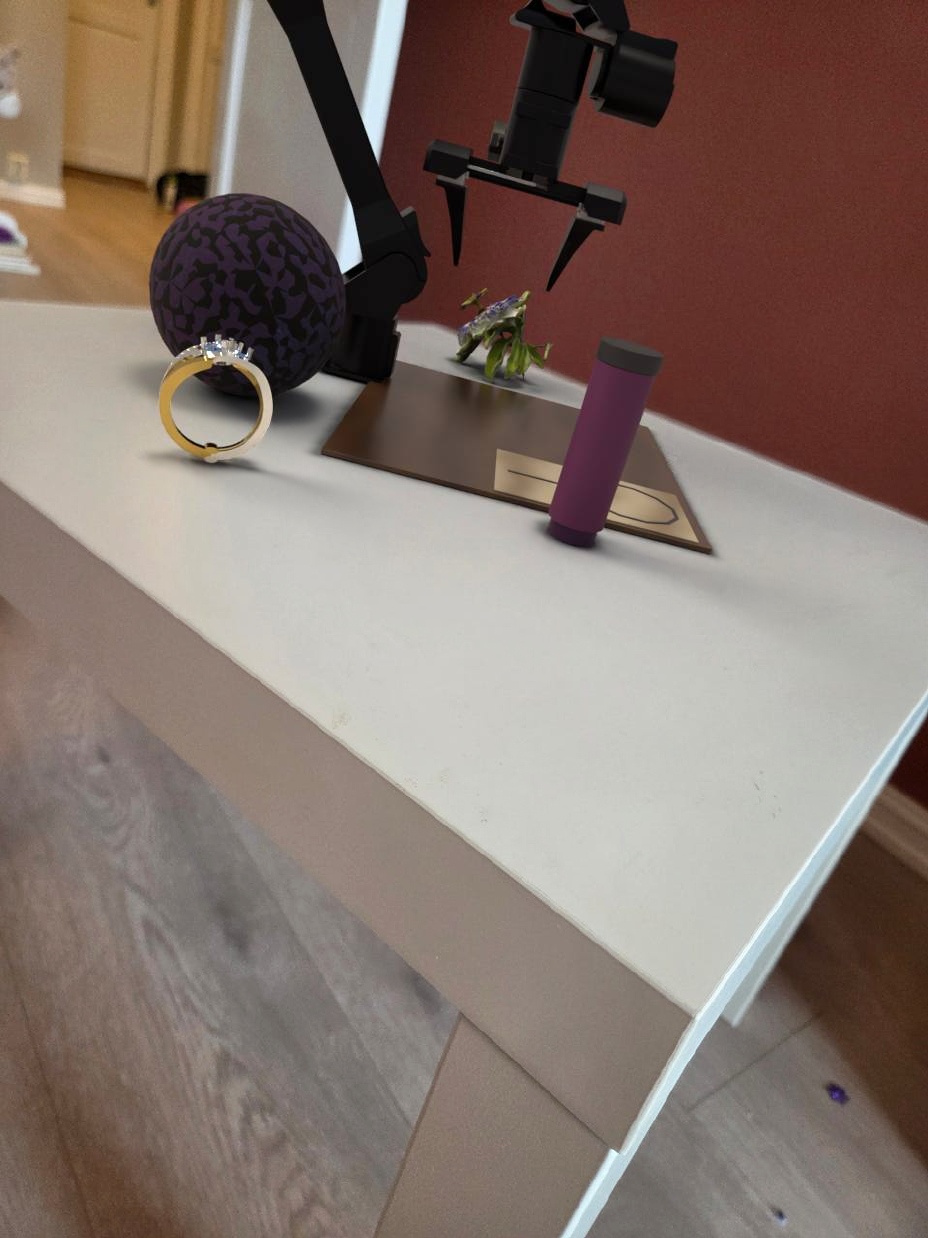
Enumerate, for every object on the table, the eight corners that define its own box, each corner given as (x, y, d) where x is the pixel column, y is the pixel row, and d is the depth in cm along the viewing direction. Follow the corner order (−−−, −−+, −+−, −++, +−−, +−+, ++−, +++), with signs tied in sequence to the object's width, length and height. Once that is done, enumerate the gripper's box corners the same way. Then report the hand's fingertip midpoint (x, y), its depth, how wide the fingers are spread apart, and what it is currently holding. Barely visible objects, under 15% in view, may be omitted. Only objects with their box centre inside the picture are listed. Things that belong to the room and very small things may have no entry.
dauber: (542, 539, 60) (604, 343, 54) (541, 518, 64) (598, 332, 58) (601, 554, 61) (669, 361, 55) (596, 532, 64) (659, 349, 58)
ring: (261, 458, 60) (278, 342, 57) (266, 476, 58) (284, 354, 54) (153, 444, 58) (164, 321, 54) (153, 461, 55) (165, 333, 52)
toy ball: (182, 351, 79) (200, 169, 73) (344, 395, 80) (377, 219, 73) (108, 386, 66) (122, 167, 59) (303, 439, 66) (339, 227, 60)
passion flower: (451, 406, 108) (452, 313, 109) (539, 410, 109) (539, 317, 110) (458, 370, 97) (460, 267, 98) (556, 375, 98) (556, 272, 99)
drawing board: (320, 453, 65) (321, 446, 64) (385, 360, 97) (386, 355, 96) (710, 554, 66) (713, 547, 66) (647, 430, 99) (648, 425, 98)
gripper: (636, 130, 86) (588, 294, 93) (451, 77, 85) (416, 247, 92) (652, 124, 76) (596, 308, 83) (443, 64, 75) (404, 255, 82)
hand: (501, 278), depth 86 cm, fingers open, 9 cm apart
